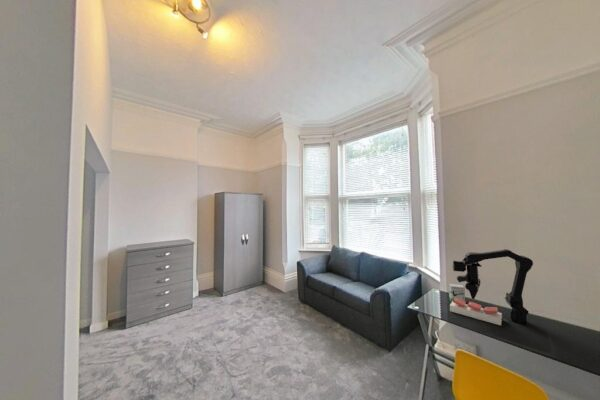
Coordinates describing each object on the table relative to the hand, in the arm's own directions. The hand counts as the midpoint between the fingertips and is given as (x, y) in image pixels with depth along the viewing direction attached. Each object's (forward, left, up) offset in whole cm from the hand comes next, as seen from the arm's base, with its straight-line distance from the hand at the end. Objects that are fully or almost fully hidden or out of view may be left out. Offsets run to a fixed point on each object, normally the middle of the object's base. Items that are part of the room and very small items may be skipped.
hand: (473, 296), depth 140 cm
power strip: (0, +2, -11) cm, 11 cm away
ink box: (+12, -14, -11) cm, 21 cm away
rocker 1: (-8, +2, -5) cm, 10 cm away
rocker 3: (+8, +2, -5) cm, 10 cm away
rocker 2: (0, +2, -5) cm, 6 cm away
